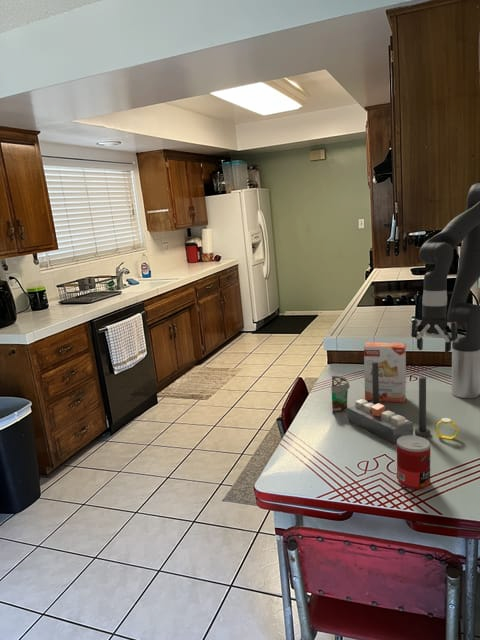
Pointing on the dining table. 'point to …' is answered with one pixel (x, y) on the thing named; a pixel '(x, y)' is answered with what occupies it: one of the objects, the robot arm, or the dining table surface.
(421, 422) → the stand
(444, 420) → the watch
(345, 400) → the food container
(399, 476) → the canned food
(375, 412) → the breaker paddle
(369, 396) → the cracker box
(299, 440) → the dining table surface
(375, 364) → the stand
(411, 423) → the breaker strip
